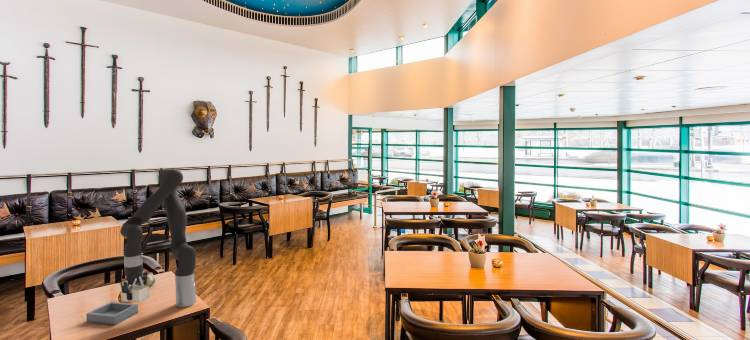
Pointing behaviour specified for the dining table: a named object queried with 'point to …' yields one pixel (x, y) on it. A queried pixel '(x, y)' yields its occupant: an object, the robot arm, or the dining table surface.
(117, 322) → the tray
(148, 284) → the ceramic sculpture
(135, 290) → the cream crate
